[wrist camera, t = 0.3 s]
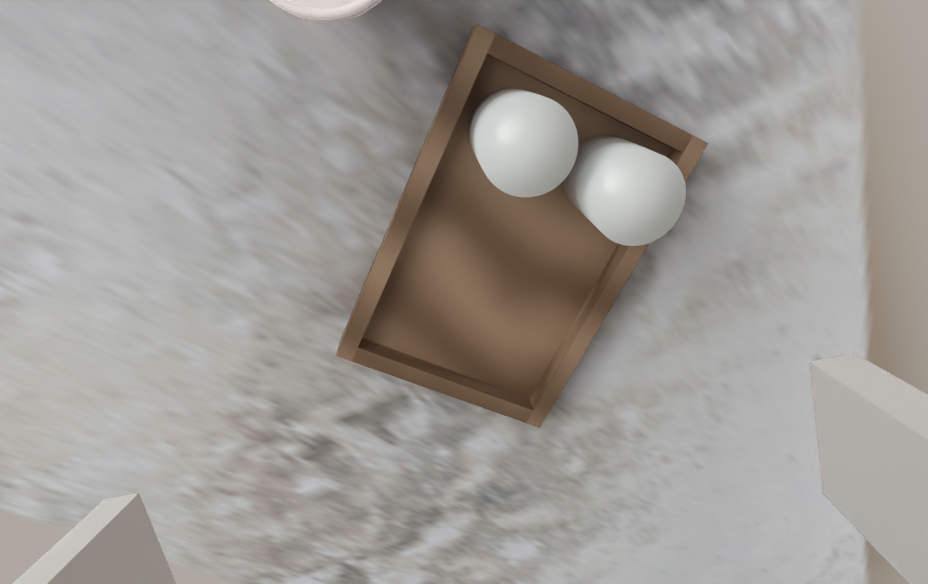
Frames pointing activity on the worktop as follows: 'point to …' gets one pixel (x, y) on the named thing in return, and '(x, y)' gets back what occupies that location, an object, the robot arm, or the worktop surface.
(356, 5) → the smoothie
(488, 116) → the white rounded cylinder
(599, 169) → the white domed cylinder
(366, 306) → the tray
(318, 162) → the worktop surface
